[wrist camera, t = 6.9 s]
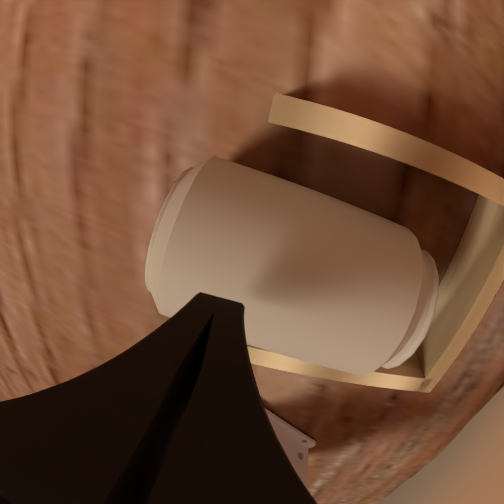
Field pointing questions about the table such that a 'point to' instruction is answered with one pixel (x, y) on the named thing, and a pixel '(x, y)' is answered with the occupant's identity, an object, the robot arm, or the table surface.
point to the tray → (463, 262)
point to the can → (293, 267)
